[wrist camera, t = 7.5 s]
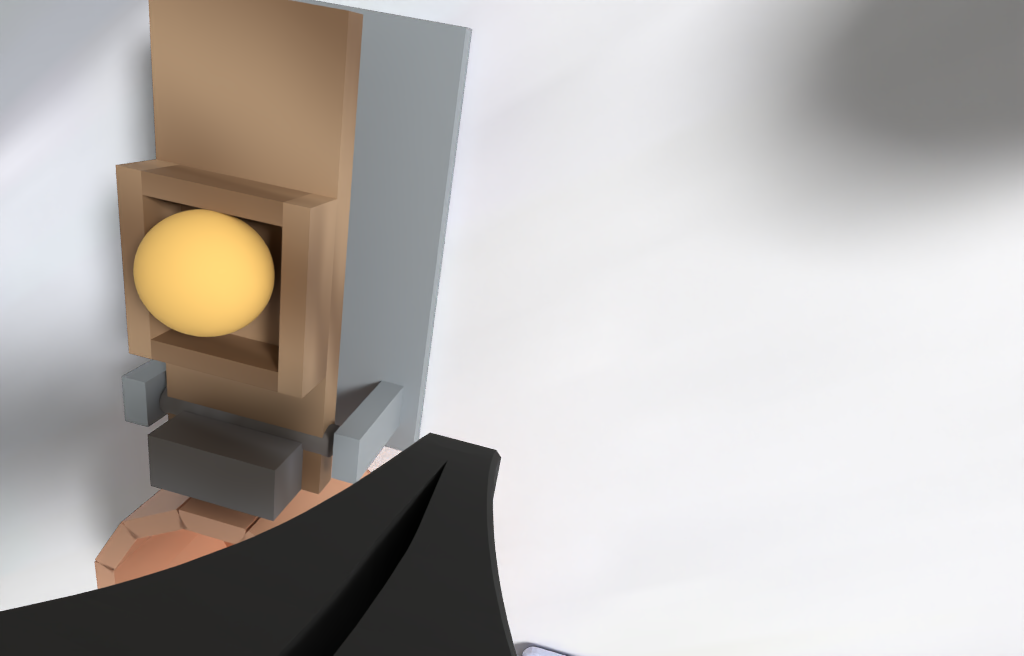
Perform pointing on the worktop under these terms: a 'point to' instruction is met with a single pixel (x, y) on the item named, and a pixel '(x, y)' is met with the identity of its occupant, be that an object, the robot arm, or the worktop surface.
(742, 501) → the worktop surface
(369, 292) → the stand
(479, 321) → the worktop surface
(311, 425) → the catapult lever
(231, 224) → the ball
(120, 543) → the wooden basket
